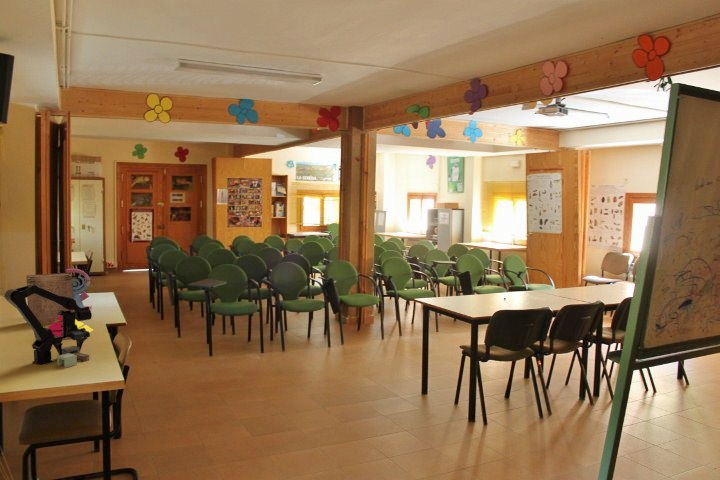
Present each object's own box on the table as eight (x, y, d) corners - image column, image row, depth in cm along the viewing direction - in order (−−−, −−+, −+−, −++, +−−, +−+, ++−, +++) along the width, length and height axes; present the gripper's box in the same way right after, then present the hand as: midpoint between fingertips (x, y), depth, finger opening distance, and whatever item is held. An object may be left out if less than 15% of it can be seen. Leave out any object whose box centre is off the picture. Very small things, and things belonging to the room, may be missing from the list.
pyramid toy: (95, 330, 353) (94, 306, 352) (81, 340, 328) (80, 314, 327) (50, 331, 349) (49, 308, 348) (33, 341, 324) (32, 316, 324)
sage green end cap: (65, 367, 273) (65, 357, 272) (57, 365, 276) (57, 355, 276) (76, 364, 277) (76, 355, 277) (68, 362, 281) (68, 353, 281)
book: (27, 325, 365) (26, 276, 363) (28, 322, 373) (26, 275, 371) (73, 321, 377) (71, 274, 375) (72, 318, 385) (71, 272, 383)
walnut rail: (83, 361, 283) (83, 356, 282) (71, 358, 288) (71, 353, 288) (89, 360, 285) (89, 354, 285) (77, 357, 290) (77, 352, 290)
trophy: (91, 308, 419) (90, 266, 417) (91, 312, 404) (89, 269, 402) (60, 310, 412) (58, 268, 410) (58, 315, 396) (56, 270, 394)
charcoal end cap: (79, 356, 293) (79, 347, 292) (66, 359, 287) (66, 349, 287) (73, 354, 296) (73, 345, 295) (60, 357, 290) (60, 348, 290)
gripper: (59, 328, 278) (60, 361, 279) (96, 321, 293) (97, 352, 295) (46, 325, 284) (47, 357, 285) (83, 319, 300) (84, 349, 301)
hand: (69, 354), depth 291 cm, fingers open, 9 cm apart
